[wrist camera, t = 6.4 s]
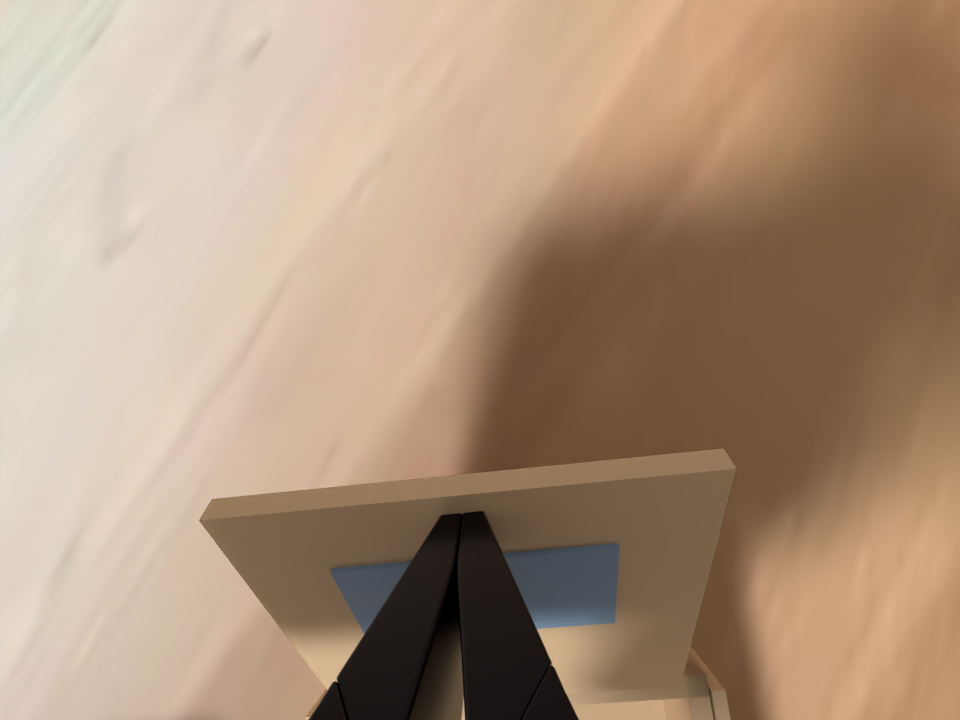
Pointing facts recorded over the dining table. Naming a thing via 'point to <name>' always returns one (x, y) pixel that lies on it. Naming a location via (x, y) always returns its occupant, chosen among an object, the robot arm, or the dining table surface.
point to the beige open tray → (652, 699)
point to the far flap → (525, 545)
